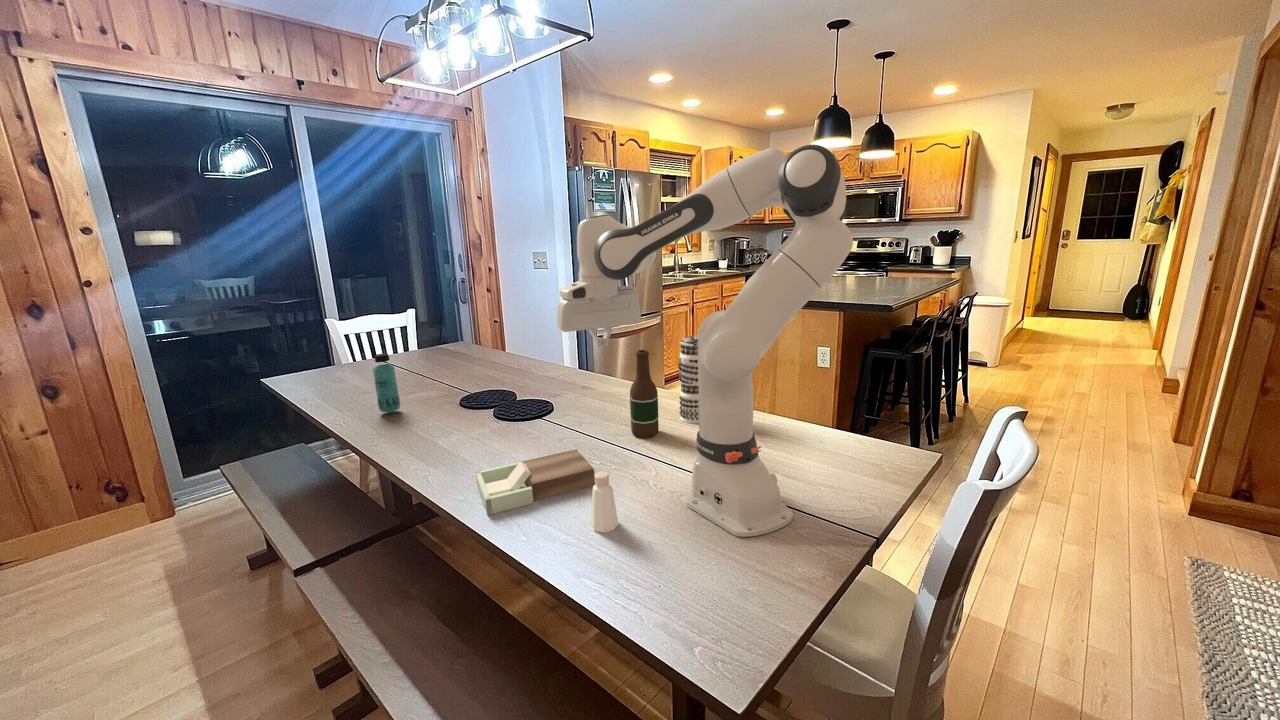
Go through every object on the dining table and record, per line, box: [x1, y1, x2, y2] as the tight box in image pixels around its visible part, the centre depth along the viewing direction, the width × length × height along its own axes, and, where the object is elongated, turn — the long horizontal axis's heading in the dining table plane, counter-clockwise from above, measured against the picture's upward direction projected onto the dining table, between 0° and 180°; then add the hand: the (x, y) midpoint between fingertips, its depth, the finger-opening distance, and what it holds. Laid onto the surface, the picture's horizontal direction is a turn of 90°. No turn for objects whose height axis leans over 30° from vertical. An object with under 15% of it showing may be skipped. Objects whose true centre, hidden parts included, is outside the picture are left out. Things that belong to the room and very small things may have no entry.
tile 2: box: [507, 460, 531, 490], centre depth 113 cm, size 5×5×2 cm
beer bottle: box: [629, 349, 660, 440], centre depth 139 cm, size 8×8×24 cm
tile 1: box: [485, 479, 511, 496], centre depth 112 cm, size 5×5×2 cm
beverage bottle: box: [372, 353, 401, 413], centre depth 163 cm, size 6×7×20 cm
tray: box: [475, 462, 534, 516], centre depth 112 cm, size 14×10×4 cm
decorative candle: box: [677, 335, 699, 424], centre depth 149 cm, size 9×9×25 cm
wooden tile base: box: [521, 448, 596, 502], centre depth 117 cm, size 12×14×4 cm
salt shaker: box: [590, 471, 619, 534], centre depth 98 cm, size 5×5×11 cm
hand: (601, 345), depth 121 cm, fingers closed
